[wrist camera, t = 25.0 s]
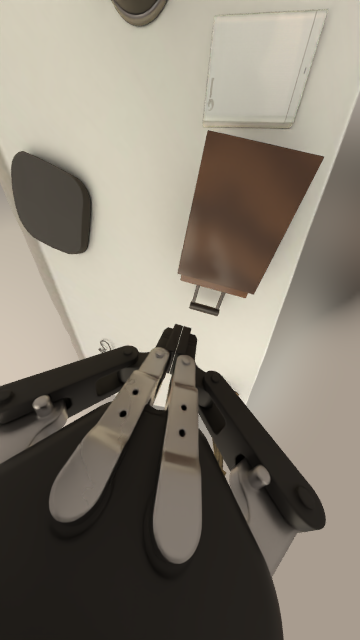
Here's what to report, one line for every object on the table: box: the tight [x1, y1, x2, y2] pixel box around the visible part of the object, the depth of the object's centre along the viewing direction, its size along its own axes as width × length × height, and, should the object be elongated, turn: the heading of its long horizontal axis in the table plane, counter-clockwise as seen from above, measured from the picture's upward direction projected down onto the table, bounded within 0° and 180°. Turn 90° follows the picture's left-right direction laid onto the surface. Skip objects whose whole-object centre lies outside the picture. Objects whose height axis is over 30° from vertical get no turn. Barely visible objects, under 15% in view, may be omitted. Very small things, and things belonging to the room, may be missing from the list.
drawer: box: [181, 275, 248, 316], centre depth 26 cm, size 20×12×8 cm, turn 167°
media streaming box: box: [11, 151, 91, 254], centre depth 30 cm, size 15×15×3 cm
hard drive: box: [203, 9, 328, 128], centre depth 19 cm, size 2×8×12 cm
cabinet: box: [178, 130, 324, 294], centre depth 24 cm, size 16×13×10 cm
